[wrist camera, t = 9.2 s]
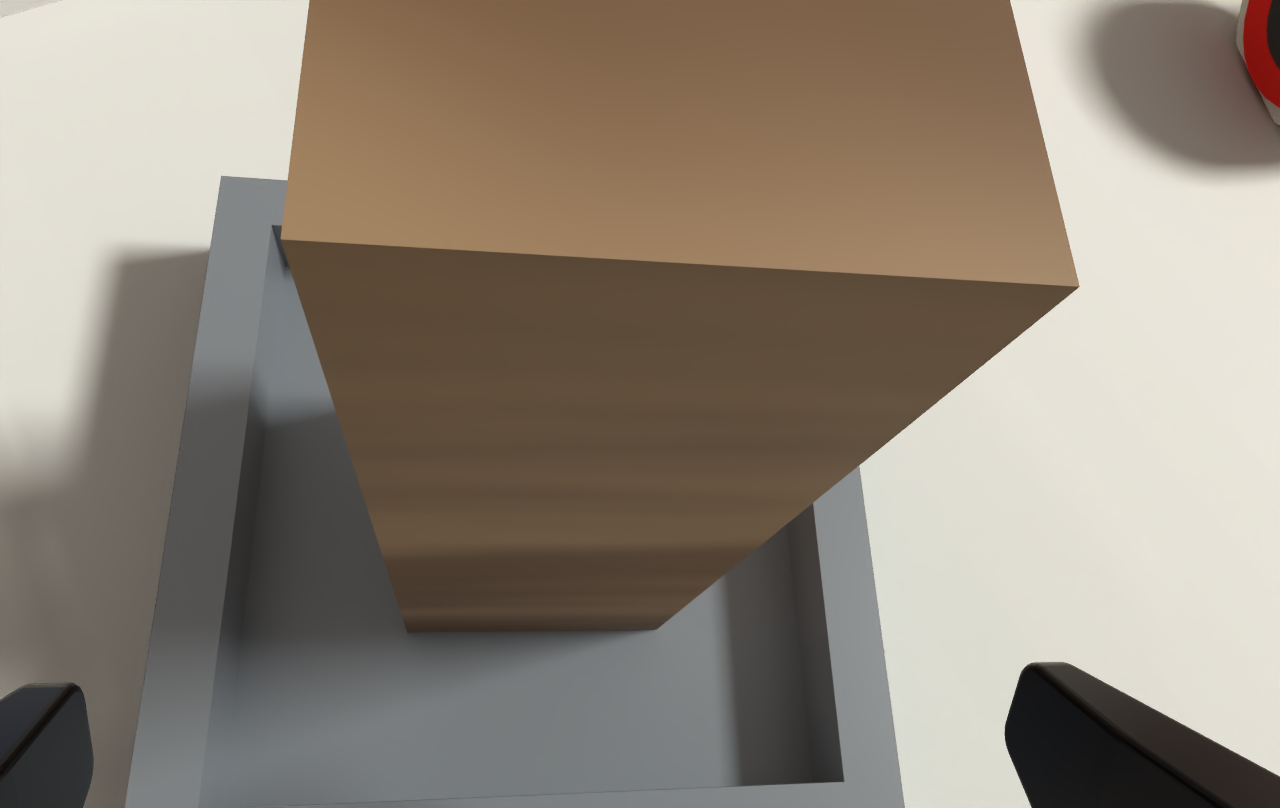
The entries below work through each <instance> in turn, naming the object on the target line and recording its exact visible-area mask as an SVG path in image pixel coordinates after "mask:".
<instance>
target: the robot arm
mask: <svg viewBox="0 0 1280 808" xmlns="http://www.w3.org/2000/svg"><path fill="white" fill-rule="evenodd" d="M1005 742H1006V746H1007V749H1008V752H1009V755H1010V757H1011V760H1012V762H1013V764H1014V767H1015V769H1016V771H1017V774H1018V776H1019V779H1020V781H1021V783H1022V786H1023V788H1024V790H1025V793H1026V795H1027V798H1028V800H1029V802H1030V805H1031V807H1032V808H1280V776H1278V775H1276V774H1274V773H1272V772H1270V771H1268V770H1267V769H1265V768H1263V767H1261V766H1259V765H1257V764H1255V763H1254V762H1252V761H1250V760H1248V759H1246V758H1244V757H1242V756H1241V755H1239V754H1237V753H1235V752H1233V751H1231V750H1229V749H1227V748H1226V747H1224V746H1222V745H1220V744H1218V743H1216V742H1214V741H1213V740H1211V739H1209V738H1207V737H1205V736H1203V735H1201V734H1200V733H1198V732H1196V731H1194V730H1192V729H1190V728H1188V727H1186V726H1185V725H1183V724H1181V723H1179V722H1177V721H1175V720H1173V719H1172V718H1170V717H1168V716H1166V715H1164V714H1162V713H1160V712H1159V711H1157V710H1155V709H1153V708H1151V707H1149V706H1147V705H1145V704H1144V703H1142V702H1140V701H1138V700H1136V699H1134V698H1132V697H1131V696H1129V695H1127V694H1125V693H1123V692H1121V691H1119V690H1118V689H1116V688H1114V687H1112V686H1110V685H1108V684H1106V683H1104V682H1103V681H1101V680H1099V679H1097V678H1095V677H1093V676H1091V675H1090V674H1088V673H1086V672H1084V671H1082V670H1080V669H1078V668H1077V667H1075V666H1073V665H1071V664H1068V663H1064V662H1034V663H1031V664H1028V665H1027V666H1026V667H1025V668H1024V669H1023V670H1022V672H1021V674H1020V677H1019V680H1018V684H1017V687H1016V690H1015V694H1014V697H1013V700H1012V704H1011V707H1010V710H1009V714H1008V717H1007V720H1006V724H1005ZM92 774H93V750H92V744H91V737H90V731H89V724H88V718H87V711H86V705H85V699H84V695H83V692H82V690H81V688H80V687H79V686H77V685H76V684H74V683H33V684H27V685H24V686H22V687H20V688H18V689H16V690H15V691H13V692H12V693H10V694H9V695H7V696H6V697H4V698H2V699H1V700H0V808H83V806H84V803H85V800H86V797H87V793H88V790H89V787H90V784H91V779H92Z"/></svg>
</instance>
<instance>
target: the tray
mask: <svg viewBox="0 0 1280 808" xmlns="http://www.w3.org/2000/svg"><path fill="white" fill-rule="evenodd" d="M287 182H288V181H286V180H272V179H257V178H243V177H229V176H221V181H220V188H219V194H218V201H217V207H216V214H215V220H214V227H213V233H212V240H211V246H210V253H209V259H208V266H207V272H206V279H205V286H204V292H203V299H202V305H201V312H200V318H199V325H198V331H197V338H196V344H195V351H194V357H193V364H192V370H191V377H190V383H189V390H188V396H187V403H186V410H185V416H184V423H183V429H182V436H181V442H180V449H179V455H178V462H177V468H176V475H175V481H174V488H173V494H172V501H171V507H170V514H169V520H168V527H167V534H166V540H165V547H164V553H163V560H162V566H161V573H160V579H159V586H158V592H157V599H156V605H155V612H154V618H153V625H152V631H151V638H150V644H149V651H148V658H147V664H146V671H145V677H144V684H143V690H142V697H141V703H140V710H139V716H138V723H137V729H136V736H135V742H134V749H133V755H132V762H131V768H130V775H129V782H128V788H127V795H126V801H125V808H905V806H904V799H903V791H902V784H901V776H900V768H899V761H898V753H897V746H896V738H895V731H894V723H893V716H892V708H891V701H890V693H889V686H888V678H887V671H886V663H885V656H884V648H883V641H882V633H881V626H880V618H879V611H878V603H877V596H876V588H875V581H874V573H873V566H872V558H871V551H870V543H869V536H868V528H867V521H866V513H865V506H864V498H863V491H862V483H861V476H860V468H859V466H858V467H857V468H855V469H854V470H853V471H852V472H850V473H849V474H848V475H847V476H845V477H844V478H843V479H842V480H841V481H839V482H838V483H837V484H836V485H834V486H833V487H832V488H831V489H829V490H828V491H827V492H826V493H825V494H823V495H822V496H821V497H820V498H818V499H817V500H816V501H815V502H813V503H812V504H811V505H810V506H808V507H807V508H806V509H805V510H804V511H802V512H801V513H800V514H799V515H797V516H796V517H795V518H794V519H792V520H791V521H790V522H789V523H788V524H786V525H785V526H784V527H783V528H781V529H780V530H779V531H778V532H776V533H775V534H774V535H773V536H772V537H770V538H769V539H768V540H767V541H765V542H764V543H763V544H762V545H760V546H759V547H758V548H757V549H755V550H754V551H753V552H752V553H751V554H749V555H748V556H747V557H746V558H744V559H743V560H742V561H741V562H739V563H738V564H737V565H736V566H735V567H733V568H732V569H731V570H730V571H728V572H727V573H726V574H725V575H723V576H722V577H721V578H720V579H718V580H717V581H716V582H715V583H714V584H712V585H711V586H710V587H709V588H707V589H706V590H705V591H704V592H702V593H701V594H700V595H699V596H698V597H696V598H695V599H694V600H693V601H691V602H690V603H689V604H688V605H686V606H685V607H684V608H683V609H682V610H680V611H679V612H678V613H677V614H675V615H674V616H673V617H672V618H670V619H669V620H668V621H667V622H665V623H664V624H663V625H662V626H661V627H659V628H658V629H657V630H588V631H505V632H422V633H407V631H406V628H405V625H404V622H403V618H402V615H401V612H400V609H399V606H398V603H397V600H396V597H395V594H394V590H393V587H392V584H391V581H390V578H389V575H388V572H387V569H386V566H385V562H384V559H383V556H382V553H381V550H380V547H379V544H378V541H377V538H376V534H375V531H374V528H373V525H372V522H371V519H370V516H369V513H368V510H367V507H366V503H365V500H364V497H363V494H362V491H361V488H360V485H359V482H358V479H357V475H356V472H355V469H354V466H353V463H352V460H351V457H350V454H349V451H348V447H347V444H346V441H345V438H344V435H343V432H342V429H341V426H340V423H339V420H338V416H337V413H336V410H335V407H334V404H333V401H332V398H331V395H330V392H329V388H328V385H327V382H326V379H325V376H324V373H323V370H322V367H321V364H320V360H319V357H318V354H317V351H316V348H315V345H314V342H313V339H312V336H311V332H310V329H309V326H308V323H307V320H306V317H305V314H304V311H303V308H302V305H301V301H300V298H299V295H298V292H297V289H296V286H295V283H294V280H293V277H292V273H291V270H290V267H289V264H288V261H287V258H286V255H285V252H284V249H283V245H282V242H281V231H282V223H283V215H284V207H285V198H286V190H287Z"/></svg>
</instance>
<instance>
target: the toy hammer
mask: <svg viewBox="0 0 1280 808" xmlns="http://www.w3.org/2000/svg"><path fill="white" fill-rule="evenodd" d="M1236 46H1237V48H1238V50H1239V52H1240V54H1241V56H1242V58H1243V60H1244V62H1245V64H1246V66H1247V68H1248V72H1249V74H1250V76H1251V78H1252V80H1253V82H1254V84H1255V86H1256V87H1257V89H1258V91H1259V93H1260V95H1261V97H1262V99H1263V101H1264V103H1265V105H1266V107H1267V109H1268V111H1269V113H1270V115H1271V117H1272V119H1273V121H1274V123H1276V124H1277V125H1280V0H1242V4H1241V9H1240V13H1239V17H1238V22H1237V34H1236Z"/></svg>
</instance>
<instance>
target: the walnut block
mask: <svg viewBox="0 0 1280 808" xmlns="http://www.w3.org/2000/svg"><path fill="white" fill-rule="evenodd" d="M281 242H282V245H283V249H284V252H285V255H286V258H287V261H288V264H289V267H290V270H291V273H292V277H293V280H294V283H295V286H296V289H297V292H298V295H299V298H300V301H301V305H302V308H303V311H304V314H305V317H306V320H307V323H308V326H309V329H310V332H311V336H312V339H313V342H314V345H315V348H316V351H317V354H318V357H319V360H320V364H321V367H322V370H323V373H324V376H325V379H326V382H327V385H328V388H329V392H330V395H331V398H332V401H333V404H334V407H335V410H336V413H337V416H338V420H339V423H340V426H341V429H342V432H343V435H344V438H345V441H346V444H347V447H348V451H349V454H350V457H351V460H352V463H353V466H354V469H355V472H356V475H357V479H358V482H359V485H360V488H361V491H362V494H363V497H364V500H365V503H366V507H367V510H368V513H369V516H370V519H371V522H372V525H373V528H374V531H375V534H376V538H377V541H378V544H379V547H380V550H381V553H382V556H383V559H384V562H385V566H386V569H387V572H388V575H389V578H390V581H391V584H392V587H393V590H394V594H395V597H396V600H397V603H398V606H399V609H400V612H401V615H402V618H403V622H404V625H405V628H406V631H407V633H422V632H505V631H588V630H657V629H658V628H659V627H661V626H662V625H663V624H664V623H665V622H667V621H668V620H669V619H670V618H672V617H673V616H674V615H675V614H677V613H678V612H679V611H680V610H682V609H683V608H684V607H685V606H686V605H688V604H689V603H690V602H691V601H693V600H694V599H695V598H696V597H698V596H699V595H700V594H701V593H702V592H704V591H705V590H706V589H707V588H709V587H710V586H711V585H712V584H714V583H715V582H716V581H717V580H718V579H720V578H721V577H722V576H723V575H725V574H726V573H727V572H728V571H730V570H731V569H732V568H733V567H735V566H736V565H737V564H738V563H739V562H741V561H742V560H743V559H744V558H746V557H747V556H748V555H749V554H751V553H752V552H753V551H754V550H755V549H757V548H758V547H759V546H760V545H762V544H763V543H764V542H765V541H767V540H768V539H769V538H770V537H772V536H773V535H774V534H775V533H776V532H778V531H779V530H780V529H781V528H783V527H784V526H785V525H786V524H788V523H789V522H790V521H791V520H792V519H794V518H795V517H796V516H797V515H799V514H800V513H801V512H802V511H804V510H805V509H806V508H807V507H808V506H810V505H811V504H812V503H813V502H815V501H816V500H817V499H818V498H820V497H821V496H822V495H823V494H825V493H826V492H827V491H828V490H829V489H831V488H832V487H833V486H834V485H836V484H837V483H838V482H839V481H841V480H842V479H843V478H844V477H845V476H847V475H848V474H849V473H850V472H852V471H853V470H854V469H855V468H857V467H858V466H859V465H860V464H861V463H863V462H864V461H865V460H866V459H868V458H869V457H870V456H871V455H873V454H874V453H875V452H876V451H878V450H879V449H880V448H881V447H882V446H884V445H885V444H886V443H887V442H889V441H890V440H891V439H892V438H894V437H895V436H896V435H897V434H898V433H900V432H901V431H902V430H903V429H905V428H906V427H907V426H908V425H910V424H911V423H912V422H913V421H915V420H916V419H917V418H918V417H919V416H921V415H922V414H923V413H924V412H926V411H927V410H928V409H929V408H931V407H932V406H933V405H934V404H935V403H937V402H938V401H939V400H940V399H942V398H943V397H944V396H945V395H947V394H948V393H949V392H950V391H951V390H953V389H954V388H955V387H956V386H958V385H959V384H960V383H961V382H963V381H964V380H965V379H966V378H968V377H969V376H970V375H971V374H972V373H974V372H975V371H976V370H977V369H979V368H980V367H981V366H982V365H984V364H985V363H986V362H987V361H988V360H990V359H991V358H992V357H993V356H995V355H996V354H997V353H998V352H1000V351H1001V350H1002V349H1003V348H1005V347H1006V346H1007V345H1008V344H1009V343H1011V342H1012V341H1013V340H1014V339H1016V338H1017V337H1018V336H1019V335H1021V334H1022V333H1023V332H1024V331H1025V330H1027V329H1028V328H1029V327H1030V326H1032V325H1033V324H1034V323H1035V322H1037V321H1038V320H1039V319H1040V318H1041V317H1043V316H1044V315H1045V314H1046V313H1048V312H1049V311H1050V310H1051V309H1053V308H1054V307H1055V306H1056V305H1058V304H1059V303H1060V302H1061V301H1062V300H1064V299H1065V298H1066V297H1067V296H1069V295H1070V294H1071V293H1072V292H1074V291H1075V290H1076V289H1077V288H1078V287H1079V282H1078V278H1077V274H1076V270H1075V266H1074V262H1073V258H1072V254H1071V250H1070V245H1069V241H1068V237H1067V233H1066V229H1065V225H1064V221H1063V217H1062V213H1061V208H1060V204H1059V200H1058V196H1057V192H1056V188H1055V184H1054V180H1053V176H1052V171H1051V167H1050V163H1049V159H1048V155H1047V151H1046V147H1045V143H1044V139H1043V135H1042V130H1041V126H1040V122H1039V118H1038V114H1037V110H1036V106H1035V102H1034V98H1033V93H1032V89H1031V85H1030V81H1029V77H1028V73H1027V69H1026V65H1025V61H1024V56H1023V52H1022V48H1021V44H1020V40H1019V36H1018V32H1017V28H1016V24H1015V19H1014V15H1013V11H1012V7H1011V3H1010V0H310V2H309V10H308V18H307V26H306V35H305V43H304V51H303V59H302V67H301V75H300V84H299V92H298V100H297V108H296V116H295V125H294V133H293V141H292V149H291V157H290V166H289V174H288V182H287V190H286V198H285V207H284V215H283V223H282V231H281Z"/></svg>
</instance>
